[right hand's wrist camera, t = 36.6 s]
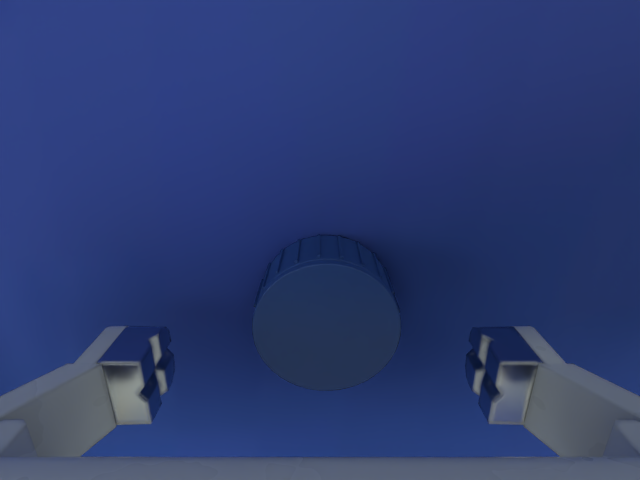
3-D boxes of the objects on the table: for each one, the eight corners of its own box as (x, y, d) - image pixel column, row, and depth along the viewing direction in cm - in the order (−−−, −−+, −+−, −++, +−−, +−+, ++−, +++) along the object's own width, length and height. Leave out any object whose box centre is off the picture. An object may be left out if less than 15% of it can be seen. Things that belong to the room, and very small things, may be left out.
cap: (417, 288, 13) (435, 325, 11) (331, 368, 14) (332, 415, 12) (319, 206, 12) (319, 230, 10) (235, 298, 13) (219, 338, 11)
